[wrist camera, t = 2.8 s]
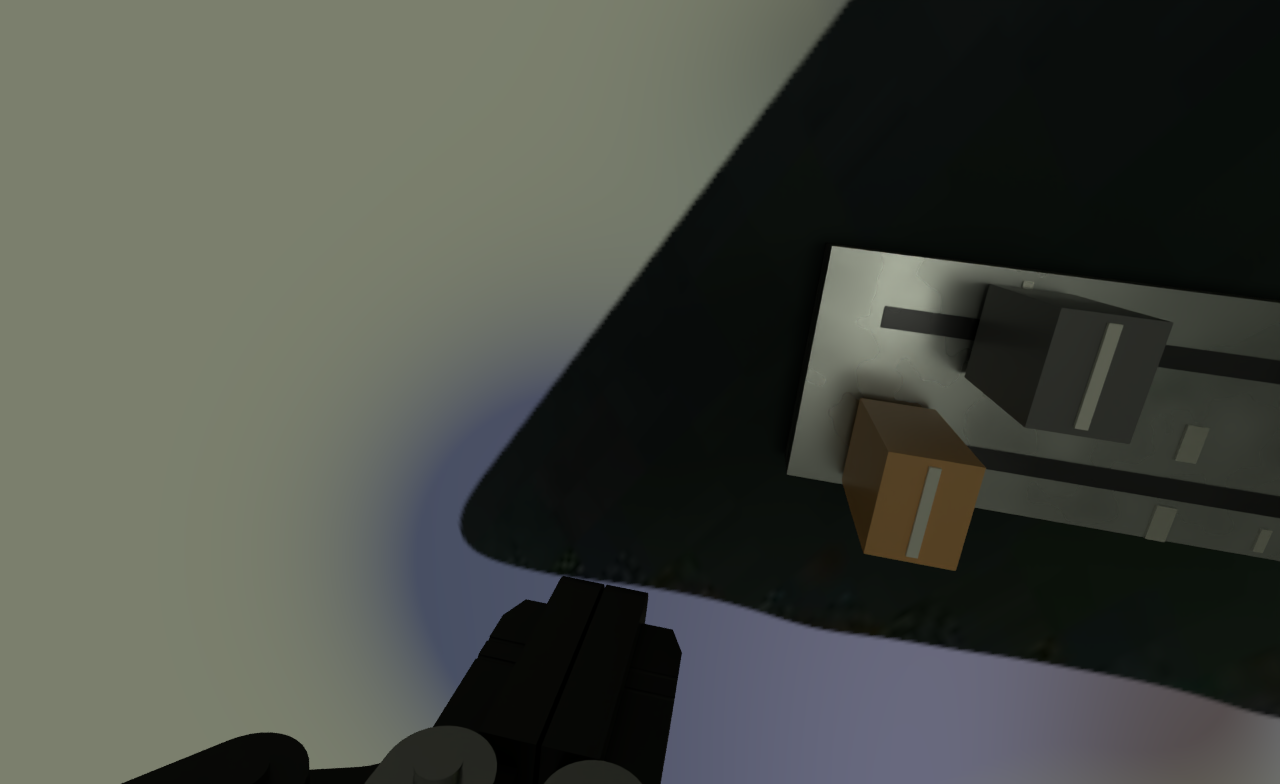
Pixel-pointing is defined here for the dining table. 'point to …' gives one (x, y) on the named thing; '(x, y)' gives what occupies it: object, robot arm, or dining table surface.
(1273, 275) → the dining table surface
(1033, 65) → the dining table surface
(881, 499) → the fader
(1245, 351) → the console
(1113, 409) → the fader
